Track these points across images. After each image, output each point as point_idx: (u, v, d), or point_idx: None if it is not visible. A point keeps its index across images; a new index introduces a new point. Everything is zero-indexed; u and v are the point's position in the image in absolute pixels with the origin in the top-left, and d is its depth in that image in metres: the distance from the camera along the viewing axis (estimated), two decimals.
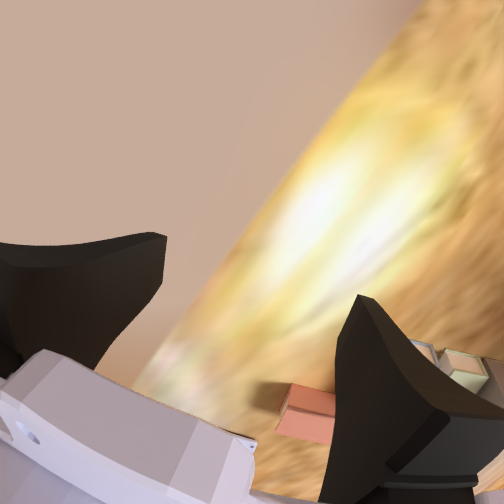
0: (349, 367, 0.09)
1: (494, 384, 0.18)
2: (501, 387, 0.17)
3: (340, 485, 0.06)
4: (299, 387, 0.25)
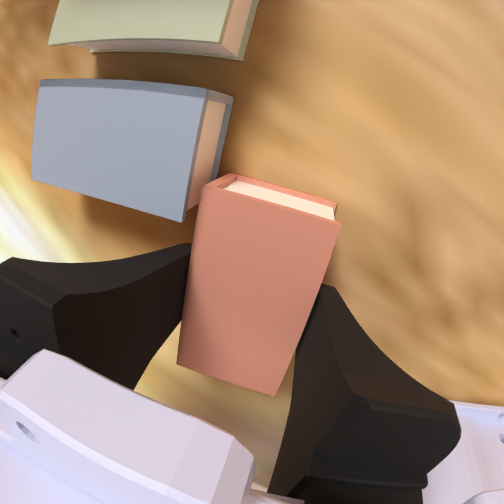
0: (304, 355, 0.09)
1: None
2: None
3: (282, 474, 0.06)
4: None
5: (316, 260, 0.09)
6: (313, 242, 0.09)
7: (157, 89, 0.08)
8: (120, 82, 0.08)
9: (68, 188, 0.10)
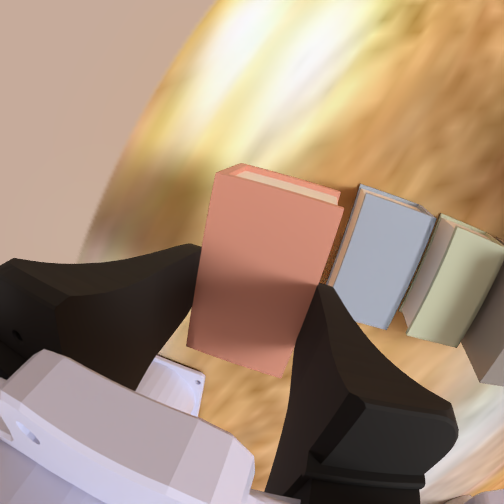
0: (302, 355, 0.09)
1: None
2: None
3: (279, 474, 0.06)
4: None
5: (321, 242, 0.10)
6: (318, 225, 0.09)
7: (394, 307, 0.16)
8: (406, 287, 0.16)
9: (353, 236, 0.16)
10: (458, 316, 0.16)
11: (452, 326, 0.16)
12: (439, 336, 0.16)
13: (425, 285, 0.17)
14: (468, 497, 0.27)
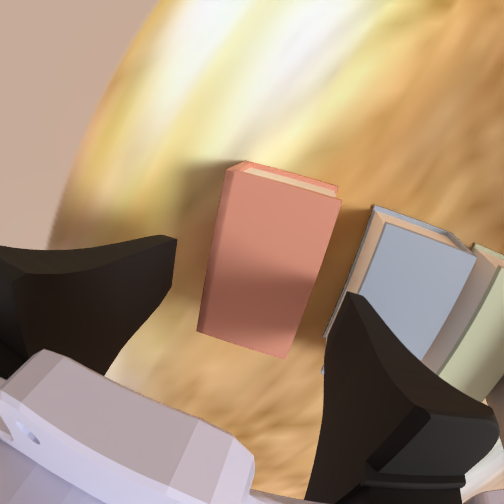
0: (337, 364, 0.09)
1: None
2: None
3: (324, 483, 0.06)
4: None
5: (321, 231, 0.11)
6: (319, 215, 0.10)
7: None
8: (429, 344, 0.11)
9: (365, 283, 0.11)
10: (487, 372, 0.11)
11: (478, 383, 0.12)
12: None
13: (451, 336, 0.12)
14: None
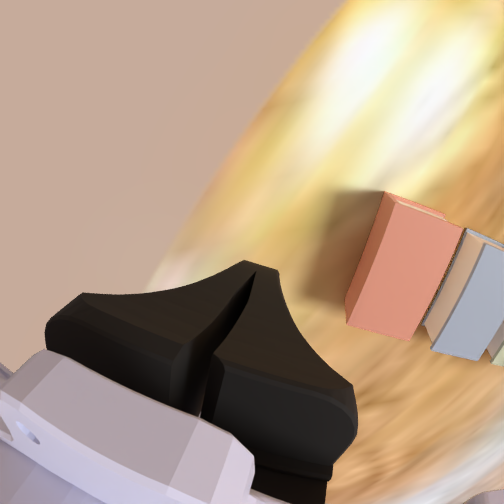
0: None
1: None
2: None
3: None
4: (348, 291, 0.19)
5: (449, 248, 0.14)
6: (449, 237, 0.14)
7: (487, 341, 0.15)
8: (499, 324, 0.14)
9: (469, 283, 0.14)
10: None
11: None
12: None
13: None
14: None
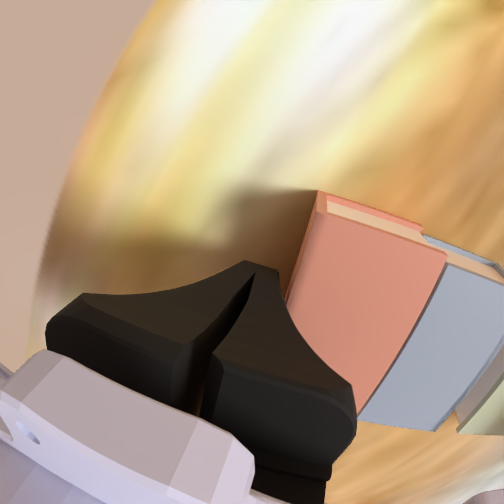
0: None
1: None
2: None
3: None
4: None
5: (421, 288, 0.08)
6: (421, 271, 0.08)
7: (451, 409, 0.10)
8: (472, 386, 0.09)
9: (416, 330, 0.09)
10: None
11: None
12: (494, 428, 0.10)
13: (490, 373, 0.10)
14: None
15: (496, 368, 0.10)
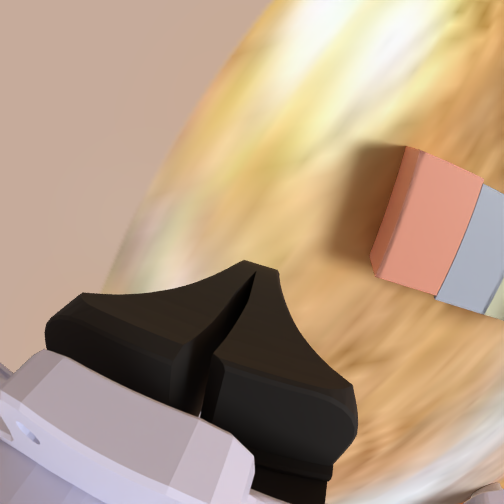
0: None
1: None
2: None
3: None
4: (373, 247, 0.18)
5: (472, 197, 0.13)
6: (471, 187, 0.13)
7: (493, 292, 0.15)
8: None
9: (469, 224, 0.14)
10: None
11: None
12: None
13: None
14: (497, 485, 0.25)
15: None
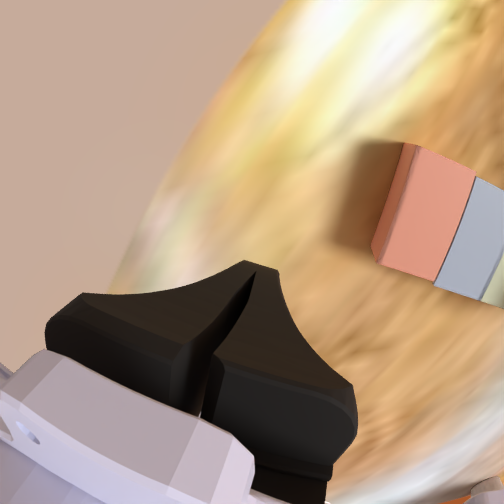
0: None
1: None
2: None
3: None
4: (374, 237, 0.19)
5: (465, 188, 0.14)
6: (464, 179, 0.14)
7: (488, 279, 0.16)
8: (498, 261, 0.15)
9: (464, 214, 0.15)
10: None
11: None
12: None
13: None
14: (497, 478, 0.26)
15: None
